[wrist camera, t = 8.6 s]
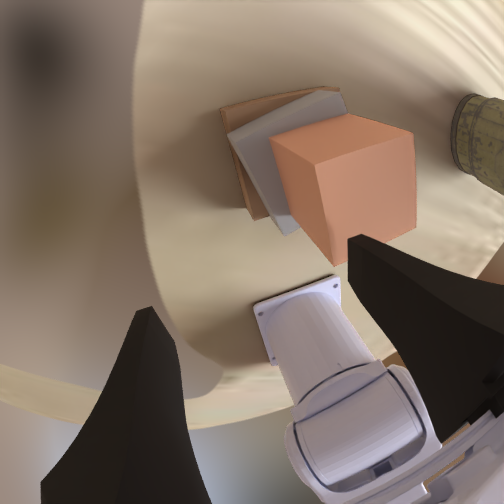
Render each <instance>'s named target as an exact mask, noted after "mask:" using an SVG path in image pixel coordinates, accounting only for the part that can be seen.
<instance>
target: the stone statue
mask: <svg viewBox="0 0 504 504" xmlns="http://www.w3.org/2000/svg"><path fill="white" fill-rule="evenodd" d="M451 149H452V153H453V157H454V161H455V162H456V164H457V166H458V167H459V169H461V170H462V171H464V172H465V173H467V174H469V175H472V176H474V177H476V178H477V180H479V181H480V182H481V183H483V184H485V185H486V186H488V187H490V188H492V189H493V190H495V191H497V192H499V193H500V194H502V195H504V100H501V99H498V98H495V97H494V98H486V97H483V96H481V95H478V94H470V95H467V96H466V97H465V98H464V99H463V100H462V101H461V102H460V104H459V106H458V108H457V109H456V112H455V115H454V119H453V122H452V130H451Z"/></svg>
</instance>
